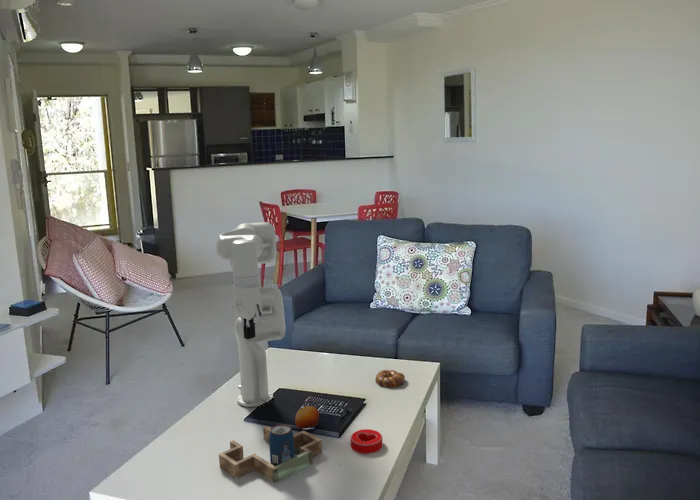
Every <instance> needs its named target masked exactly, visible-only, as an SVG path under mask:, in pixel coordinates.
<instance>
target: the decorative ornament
mask: <svg viewBox="0 0 700 500" xmlns="http://www.w3.org/2000/svg"><path fill="white" fill-rule="evenodd" d="M350 448H351V449H352V451H355V452H356V453H358V454H359V453H360V454H365V455H366V454H373V453H377V452H380V450H382V448H383V436H382V434H381V433H380V432H379V431H377V430H374V429H364V428H363V429H360V430H356V431H354V432H353V433H352V434H351V436H350Z"/></svg>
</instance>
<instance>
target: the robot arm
mask: <svg viewBox="0 0 700 500" xmlns="http://www.w3.org/2000/svg"><path fill="white" fill-rule="evenodd" d="M216 253H217V256H218V258H219V259H221V260H223V261H229V265H230V268H231V270H232V276H233V277H232V279H233V284H232V291H231V309H232V314H234V315H235V316H236V317H237V318H236V320H235V321H234V325H233V326H234V328H233V329H234V334H235V338H236V342H237V348H238V349H237V350H238V362H239V375H240V376H239V377H240V384H239V385H237V389H239V390H240V394H239V395H238V396H237V403H238V404H239V406H241V407H246V408H257V407H258V406H259V407H261V406H260V405H262V404H263V403H265V402H268V401H269V400H271V399H272V398H273V399H274V394H273V393H272V392H271V391H269V381H268V380H269V379H268V377H269V376H268V363H267V352H266V350H265V347H264V346H263V345H262V344H261V343H260V342H269V341H278V340H279V341H280V340H281V339H283V338H284V337H285V335H286V322H285V321H286V320H285V307H284V299H283V294H282V291H281V290H280V289H279V288H278V287H276V286H262V283H261V282H262V281H261V276H260V275H259V264H260V265H261V264H271V263H273V262H275V260H277V259H276V258H277V235H276V230H275V228H274V225H273V224H272V223H270V222H268V221H265V222H263V221H262V222H246V223H245V222H244V223H241V224H239V225H237V226H236V227H235V228H234V229H233V230H229V231H225V232H222V233H220V234H219V236H218V238H217V241H216Z"/></svg>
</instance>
